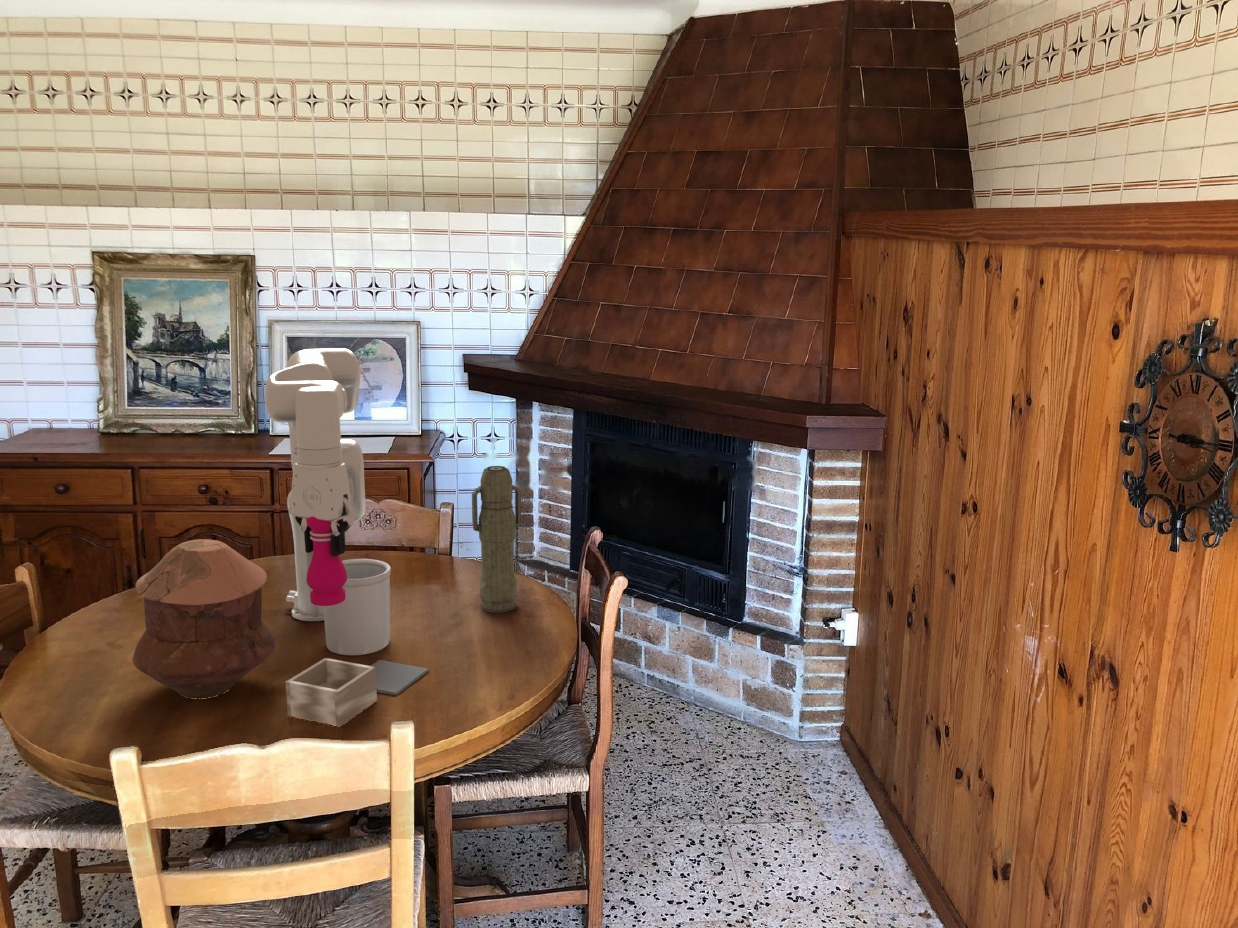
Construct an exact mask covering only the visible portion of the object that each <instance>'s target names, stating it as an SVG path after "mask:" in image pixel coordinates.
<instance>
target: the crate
mask: <svg viewBox="0 0 1238 928" xmlns="http://www.w3.org/2000/svg"><path fill="white" fill-rule="evenodd" d="M285 692H286V705H287V706H286V707H287V708H286V709H287V716H288V715H289V716H294V717H298V718H302V719H309V720H314V721H318V722H322V723H328V724H331V725H333V726H332V727H334V726H337V727H336V728H339V727H340V728H342V727H343V726H344V725H346V724H348V723H349V722H350V721H351V720H352V718H353V719H354V718H355V717H357V716H358V715H359V714H361V713H362V712H364V711H365V710H366V709H368V708H369V707H370V706H372V705H373V704H375V703H376V702H378V694H377V693H378V692H377V690H376V669H375V667H372V666H371V665H366V664H360V663H355V662H349V661H343V660H338V659H333V658H328V657H324V658H323V659H320V660H319V661H318V662H316V663H314V664H313V665H311V666H310V667H308V668H307V669H304V670H302V672H299V673H298V674H296V675H294V676H293V677H291V678H289V679H288V680H286V681H285ZM374 702H375V703H374ZM364 709H365V710H364ZM363 710H364V711H363ZM357 714H358V715H357ZM356 715H357V716H356ZM350 719H351V720H350ZM349 720H350V721H349ZM348 721H349V722H348ZM345 723H346V724H345ZM343 724H344V725H343ZM342 725H343V726H342ZM341 726H342V727H341Z"/></svg>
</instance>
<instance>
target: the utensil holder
mask: <svg viewBox="0 0 1238 928" xmlns="http://www.w3.org/2000/svg"><path fill="white" fill-rule="evenodd" d="M342 562H343V564H344V566H345V569H346V571H347V581H346V583H345V584H344V586H343V588H344V589H345V594H346V599H345V600H344V601H343V602H341V603H339V604H336V605H331V606H324V620H323V621H324V632H325V645H326V648H327V649H328V651H330V652H331V653H333V654H337V655H341V656H362V655H368V654H372V653H376V652H379V651H381V650H383V649H385V648H386V647H387V646H388V645H389V644H390V642H391V604H390V603H391V581H390V580H391V578H390V575H391V572H392V568H391V566H390V564H389V563H387V562H385V561H382V560H378V559H374V558H373V559H370V558H352V559H343V560H342Z"/></svg>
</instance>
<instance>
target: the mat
mask: <svg viewBox="0 0 1238 928" xmlns="http://www.w3.org/2000/svg"><path fill="white" fill-rule="evenodd" d="M370 666H372V667H375V669H376V690H377V693H379V694H386V695H391V696H398V695H399V694H400V693H401V692H403V691H404V690H406V689H407V688H409V687H410V686H411V685H413V684H414V683H415V682H417V681H418V680H419V679H421V678H422V677H423V676H424V675H426V674H427V673H429V668H426V667H420V666H415V665H410V664H405V663H399V662H393V661H388V660H383V659H379V660H377V661H376V662H374V663H372V664H371V665H370Z"/></svg>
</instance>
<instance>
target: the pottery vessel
mask: <svg viewBox="0 0 1238 928" xmlns="http://www.w3.org/2000/svg"><path fill="white" fill-rule="evenodd" d="M267 577H268V575H267V572H266V571H265V570H264V568H262V567H260V566H258V565H257V564H256V563H254V562H252V561H251V560H249V559H247V558H246V557H245V556H243V555H241V553H239V552H237V550H234V549H233V548H232V547H230V546H229V545H228V544H226V543H225V542H222V541H221V540H217V539H215V540H214V539H208V538H206V539H205V538H203V539H202V538H201V539H200V538H199V539H193V540H186V541H184V542H183V541H182V542H181V543H179V544H178V545H176V546H174V547H173V548H172V549H170V550H169V551H168V552H167V553H166V554H165V555H164V556H163V557H162V558H161V559H160V561H159V562H158V563H157V564H156V565H155V566H154V567H153V568H151V570H149V571H148V572H147V573H145V574H144V575H142V576H140V577H139V578H138V579H137V581H136V583H135V587H134V592H135V593H136V594H137V595H138V596H139V597H140V598H142V599H143V603H144V624H145V631H143V633H142V635H141V637H140V638H139V640H138V641H137V644H136V646H135V649H134V652H133V656H132V663H133V665H134V667H135V668H136V669H137V670H139V672H142V673H143V674H144V675H147V676H148V677H150V678H152V679H153V680H154V681H157V682H158V683H160V684H162V685H164V686H167V688H169V689H171V690H173V691H175V692H177V693H179V695H180V696H182V695H183V696H185V697H188V698H197V699H199V698H200V699H201V698H208V697H213V696H216V695H221V694H223V693H224V692H226V691H227V690H230V689H231V688H232V686H233V687H234V685H235V683H236V682H238V681H239V680H240V679H242V678H244V677H245V676H246V675H247V674H248V673H249V672H250V671H252V670H253V669H255V668H256V667H257V666H259V665H261V664H262V663H263V662H264V661H266V660H267V658H269V656H270V655H271V654H272V653H273V652H274V650H275V648H276V639H275V637H274V635H273V634H272V632H271V630H270V629H269V626H267V624H266V623H265V622H264V621H263V619H262V612H263V607H262V605H263V601H262V600H263V599H262V598H263V594H262V593H263V592H262V591H263V590H262V587H263V586H264V585H265V584H266V582H267ZM231 690H232V689H231ZM223 695H224V694H223ZM183 696H182V697H183ZM221 696H222V695H221Z"/></svg>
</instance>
